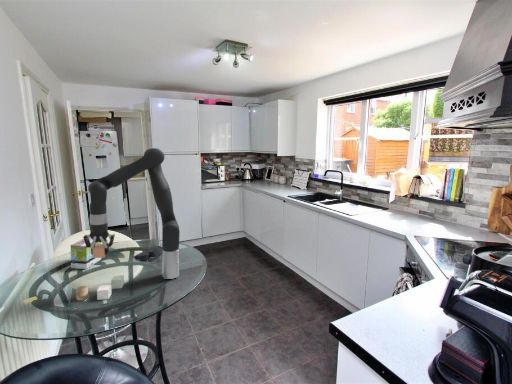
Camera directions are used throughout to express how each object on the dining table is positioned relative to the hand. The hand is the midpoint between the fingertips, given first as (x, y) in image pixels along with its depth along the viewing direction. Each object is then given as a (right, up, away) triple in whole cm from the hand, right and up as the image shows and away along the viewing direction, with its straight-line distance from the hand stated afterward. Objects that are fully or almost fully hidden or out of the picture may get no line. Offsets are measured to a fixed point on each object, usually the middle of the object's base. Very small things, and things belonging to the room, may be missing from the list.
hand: (100, 254), depth 135 cm
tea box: (-27, -14, +33) cm, 45 cm away
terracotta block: (0, -1, 0) cm, 1 cm away
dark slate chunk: (+5, -13, +52) cm, 54 cm away
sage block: (+4, -19, +10) cm, 22 cm away
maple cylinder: (-7, -21, -3) cm, 22 cm away
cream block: (+3, -21, -1) cm, 21 cm away
